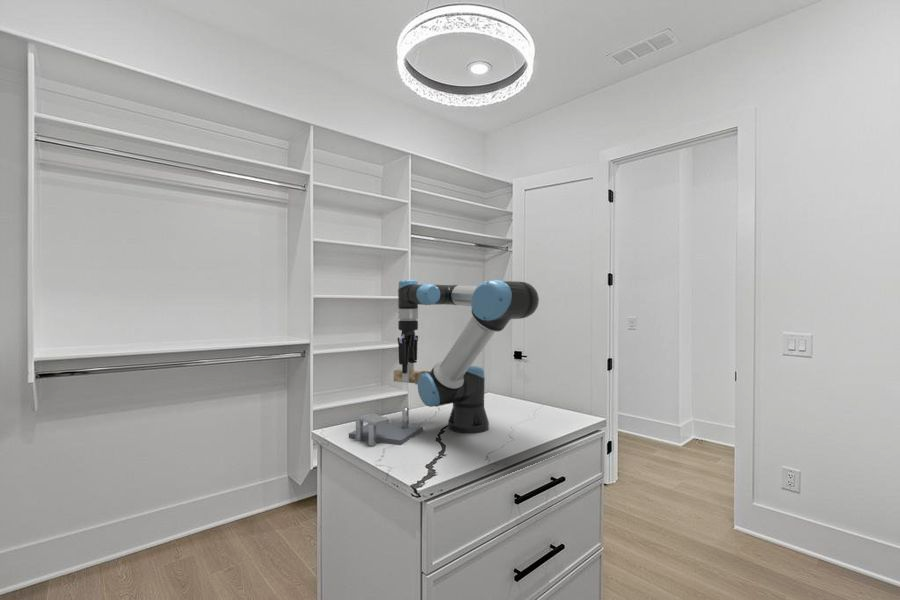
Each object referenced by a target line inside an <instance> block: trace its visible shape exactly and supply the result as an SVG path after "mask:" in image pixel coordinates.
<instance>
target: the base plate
mask: <svg viewBox="0 0 900 600" xmlns="http://www.w3.org/2000/svg"><path fill="white" fill-rule="evenodd" d="M369 425H370V424H369V423H367V424H365V425H363V435H362V440H361V441H368V442H369ZM423 431H424V426H422V425H414V424H413V425H412V424H409V428H408V429H402V423H396V422H388V423H384V424H379V425H376V443H377V442H378V443H384V444H391V445H398V446H402V445H403V444H404V443H406V442H408V441H410V440H411V439H412V438H414V437H415V436H417V435H418V434H420V433H421V432H423ZM348 438H349V439H355V440H356V429H355V430H353V431H351V432H348Z"/></svg>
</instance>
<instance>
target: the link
mask: <svg viewBox="0 0 900 600" xmlns="http://www.w3.org/2000/svg"><path fill="white" fill-rule="evenodd" d="M429 372H431V370H422V371H417V370H414V371H409V382H406V383H409V384H414V385H418V379H419V377H420V375H422V374H424V373H429ZM393 382H397V383H403V382H402V369H396V370H395V369H394V370H393Z"/></svg>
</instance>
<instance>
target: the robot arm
mask: <svg viewBox="0 0 900 600" xmlns="http://www.w3.org/2000/svg"><path fill="white" fill-rule="evenodd" d="M397 294H398V296H397V299H398V303H397V304H398V306H397V308H398V311H397V314H398V327H397V328H398V330H399V331H401V333H400V337H397V344H398V363H399V365H401V370H402V382H401V383H407V382H409V371H415V364H416V363H417V362H418V340H419V335H416V331H417V330H418V329H419V320H418V319H419V306H420V305H422V306H423V305H424V306H432V305H449V306H451V305H452V306H465V307H471V311H470V312H471V315H472V316H471V318H470V319H469V321H468V322H467V324H465V325H466V326H465V327H464V329H463V330H462V331H461V333H460V334H459V336H458V337H457V339H456V340H455V342H454V343H453V345H452V346H451V348H450V349H449V351H448V353H447V354H446V355H445V357H444V359H443V360H441V361H439V362H436V363H435V364H434V366H433V367H432V369H431V370H430V371H431V372H429V373H424V374H422V375H420V377H419V379H418V384H417V393H418V396H419V397H420V400H421V402H422V404H424V405H425V406H427V407H429V408H431V407H440V406H445V405H446V406H447V405H450V404H452V408H451V412H450V415H449V416H448V417H449V418H448V422H447V428H448V430H450V431H451V432H455V433H460V434H478V433H479V434H480V433H484V432H486V431H489V429H490V423H489V421H490V420H489V418H488V415H487V412H486V409H485V379H486V377H485V371H484V368H483V367H480V366H476V365H473V363H475V361H476V359H477V358H478V357H479V355H480V354H481V352H482V351H483V350H484V348H485V346H486V345H487V343H489V341H490V340H491V339H492V337H493V336H494V334H495V333H496V332H497V333H498V332H502V331H503V330H504V328H506V326H507V324H508V323H509V322H510V321H511V320H518V319H519V320H520V319H525V318H528V317H529V316H532V315H533V314H534V313H535V312H536V310H537V309H538V306H539V303H540V298H539V294H538V291H537V290H536V288H535V287H534V286H533V285H532V284H530V283H529V282H526V281H517V280H516V281H514V280H513V281H512V280H511V281H510V280H508V281H506V280H501V279H492V280H486V281H483V282H481V283H480V284H479V285H458V284H432V283H422V284H419V282H418V280H417V279H400V280H399V281H398V288H397Z"/></svg>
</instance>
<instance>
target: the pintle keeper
mask: <svg viewBox="0 0 900 600" xmlns="http://www.w3.org/2000/svg"><path fill="white" fill-rule="evenodd" d="M409 421H410V409H409V407H402V408H401V424H402V429H408V428H409V425H410V422H409ZM388 422H389V423H391V419H390V418H388V417H385V416H382V415H379V414H376V413H368V414H364V415H359V416H357V419H356V420H355V430H356V439H355V441H358V442H361V441H363V440H362V435H363V426H364V423H367V424H370V425H369V441H368V446H369V447H375V446H377V442H376V425H379V424H384V423H388Z"/></svg>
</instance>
